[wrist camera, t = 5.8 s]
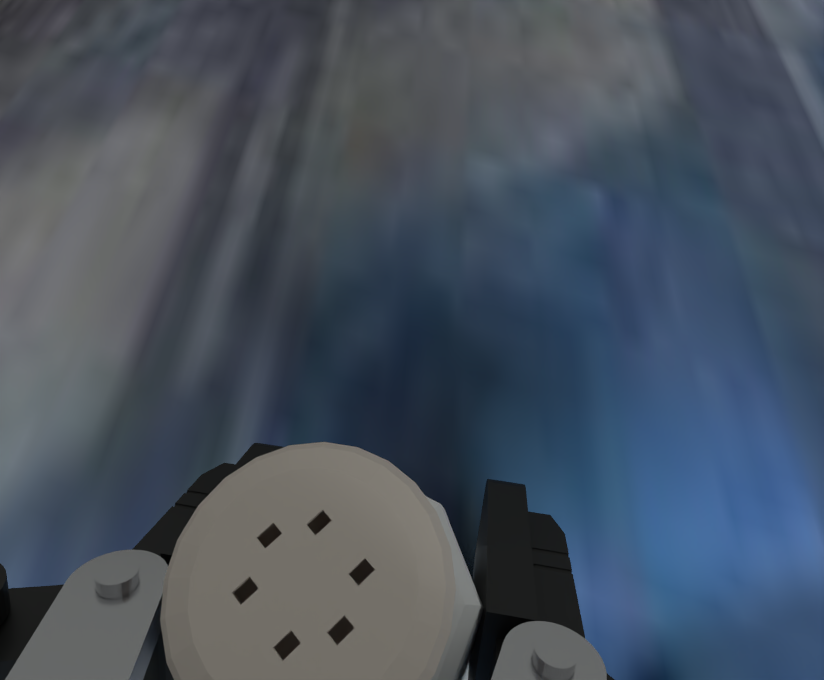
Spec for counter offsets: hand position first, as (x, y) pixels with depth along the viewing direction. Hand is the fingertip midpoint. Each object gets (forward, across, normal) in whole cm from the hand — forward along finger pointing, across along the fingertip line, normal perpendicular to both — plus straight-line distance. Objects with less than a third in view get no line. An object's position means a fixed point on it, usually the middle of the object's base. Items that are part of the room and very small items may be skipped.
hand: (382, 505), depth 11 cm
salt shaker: (+2, 0, +5) cm, 6 cm away
